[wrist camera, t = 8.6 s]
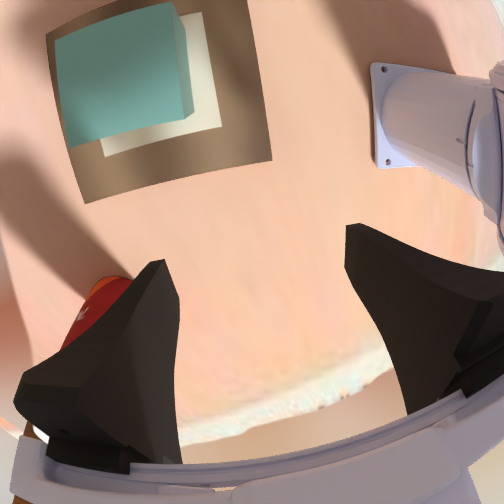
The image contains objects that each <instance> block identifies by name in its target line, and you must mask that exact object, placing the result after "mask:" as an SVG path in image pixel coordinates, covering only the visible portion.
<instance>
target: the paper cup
mask: <svg viewBox="0 0 504 504" xmlns="http://www.w3.org/2000/svg"><path fill="white" fill-rule="evenodd" d="M132 282H133V281H131V280H129V279H126V278H123V277H117V276H112V277H106V278H103V279H101V280H100V281H99V282H98V283H97V284H96V285H95V286H94V288H93V289H92V291H91V292H90V294H89V296H88V297H87V299H86V301H85V302H84V304H83V306H82V308H81V310H80V311H79V313H78V315H77V317H76V319H75V321H74V323H73V325H72V327H71V329H70V330H69V332H68V334H67V336H66V338H65V341H64V343H63V345H62V347H61V349H60V350H62V349H63V348H64V347H66V346H67V345H69V344H70V343H71V342H72V341H74V340H75V339H76V338H77V337H78V336H80V335H81V334H82V333H83V332H85V331H86V330H87V329H88V328H89V327H90V326H92V325H93V324H94V323H95V322H96V321H97V320H98V319H99V318H100V317H101V316H102V315H103V314H104V313H105V312H106V311H107V310H108V309H109V308H110V307H111V306H112V304H113V303H114V302H115V301H116V300H117V299H118V298H119V297H120V296H121V294H122V293H123V292H124V291H125V290H126V289H127V288H128V286H129V285H130V284H131V283H132ZM33 430H34V432H35V434H36V435H37V436H38V437H39V438H40V439H42V440H43V441H44V442H46V443H47V444H48V441H49V436H47V435H46V434H45V433H43V432H42V431H41V430H39V429H38V428H37V427H35V426H34V425H33Z"/></svg>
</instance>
